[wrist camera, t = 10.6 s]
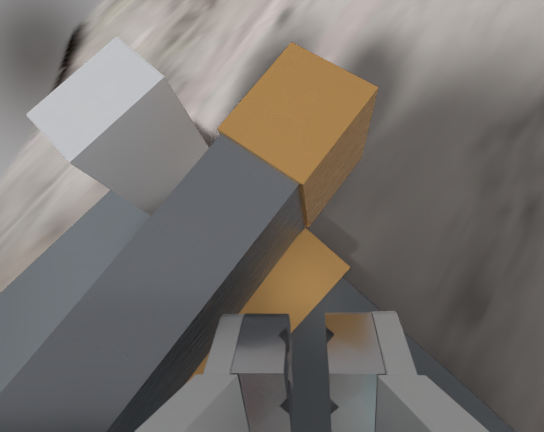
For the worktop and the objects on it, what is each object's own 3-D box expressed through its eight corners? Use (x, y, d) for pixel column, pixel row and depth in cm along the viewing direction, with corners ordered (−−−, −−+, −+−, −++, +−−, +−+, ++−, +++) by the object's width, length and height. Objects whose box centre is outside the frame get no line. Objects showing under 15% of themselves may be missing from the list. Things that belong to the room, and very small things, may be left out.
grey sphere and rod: (425, 196, 10) (475, 133, 7) (-20, 831, 8) (-295, 1239, 4) (249, 92, 12) (222, 3, 9) (-159, 568, 10) (-424, 701, 6)
